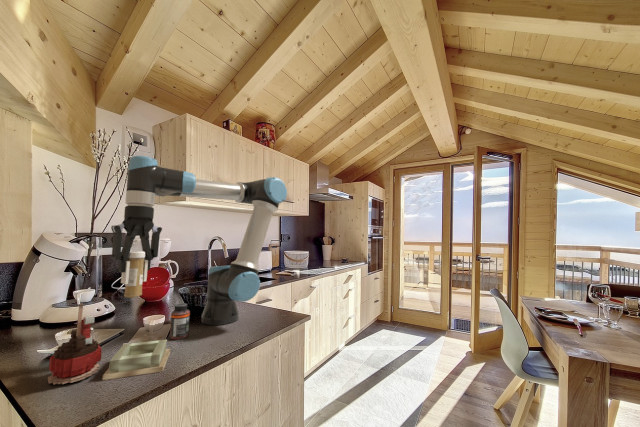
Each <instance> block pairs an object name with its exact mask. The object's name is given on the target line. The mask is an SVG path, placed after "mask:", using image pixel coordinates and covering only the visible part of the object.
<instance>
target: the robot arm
mask: <svg viewBox="0 0 640 427" xmlns="http://www.w3.org/2000/svg"><path fill="white" fill-rule="evenodd" d="M126 178H127V180H126V192H125V204H126V205H125V206H124V216H123V221H122V222H121V223H120V224H117V225H111V227H110V228H111V231H112V248H111V259H112V260H117V261H118V262H119V264H118V272H119V273H121V278H120V284H123V285H125V284H128V281H129V268H130V261H127V259H128V256H129V253H130V252H131V250H132V246H133V243H134V240H135V239H136V238H137V236H138V237H139V239H140V244H141V248H142V250H141V251H144V252H145V257H144V265H143V282H147V278H148V271H150V270H151V264H152V263H151V262H152V260H154V259H155V258H157V257H159V249H160V248H159V246H160V235H161V233H162V231H163V228H162V227H161V226H156V225H155V224H154V217H155V216H154V214H155V208H154V207H153V206H155V202H156V196H157V197H166V196H167V197H184V198H198V199H212V200H214V199H215V200H227V201H229V200H230V201H235V202H236V203H238V204H239V203H240V204H248V205H252V206H253V209H252V212H251V215H250V218H249V221H248V224H247V226H246V230H245V233H244V235H243V239H242V241H241V245H240V247H239V251H238V253H237V256H236V258H235V260H234V261H231V263H230V265H218V266H217V265H216V266H211V267H210V268H209V269H208V272H207V289H206V290H207V292H206V293H207V294H206V304H205V306H204V309H203V311H202V313H201V319H200V320H201V323H202V324H204V325H210V326H220V325H228V324H231V323H234V322H236V321H238V320H239V316H240V312H239V308H238V305H237V302H241V303H244V302H248V301H250V300H251V299H253V298H255V296H257V294H258V292H259V291H260V287H261V280H260V277H259V275H258V274H259V271H260V269H259V266H258V262H259V258H260V255H261V253H262V249H263V246H264V243H265V239H266V236H267V233H268V230H269V227H270V223H271V220H272V217H273V214H274V213H276V212H277V211H278V208H279V206H280V204H281V203H284V202H285V200H286V199H287V196H288V189H287V186H286V184H285V182H284V181H283V180H282V179H281V178H279V177H276V176H274V177H273V176H272V177H270V176H269V177H266V178H264V179H258V180H253V181H247V182H241V181H239V182H236V183H230V182H223V181H215V180H205V179H204V180H203V179H197V178H196V175H195V174H194V173H192V172H188V171H185V170H178V169H173V168H168V167H167V168H166V167H162V166H159V164H158V160H157V159H156V158H153V157H150V156H145V155H134V156H131V157H130V159H129V163H128V168H127V177H126ZM124 230H125V232H126V233H125V239H124V242H123V245H122V241H123V240H122V239H123V238H122V237H123V231H124ZM150 232H151V240H150Z"/></svg>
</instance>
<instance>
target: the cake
mask: <svg viewBox="0 0 640 427" xmlns="http://www.w3.org/2000/svg"><path fill="white" fill-rule="evenodd" d="M83 310H84V303H79V304H78V316H77V325H76V328H74V329H71V331H70V338H69V339H68V341H66V342H62V344H61V345H60V346H58V347H57V349H55V350H54V353H53V355H52V356H49V362H48V363H49V364H48V369H49V372H50V373H51V372H52V373H51V374H50V375H49V376H47V381H48V384H53V385H64V384H67V383H70V384H71V383H74V382H76V383H77V382H78V381H81V380H85V379H86V378H89V377H91V376H93V375H94V374H96V373H98V370H100V364H98V362H101V360H102V353H103V352H102V347H101V346H100V343H99V342H98V341H97V340H95V339H94V338H93V336H92V334H91V333H92V332H91V330H92V329H91V326H92V324H94V323H95V315H90V316H85V317H84V318H83Z"/></svg>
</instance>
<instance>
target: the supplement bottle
mask: <svg viewBox="0 0 640 427" xmlns="http://www.w3.org/2000/svg"><path fill="white" fill-rule="evenodd" d="M190 315H191V311H190V310H189V309H188V303H184V302H180V303H177V304H174V309H173V311H171V314H170V328H169V329H170V330H169V331H170V332H169V338H170V339H171V340H173V341H174V340H176V341H177V340H178V341H179V340H183V339H185V338H187V337H188V336H189V333H190V318H191V317H190Z"/></svg>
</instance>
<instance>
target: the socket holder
mask: <svg viewBox="0 0 640 427" xmlns="http://www.w3.org/2000/svg"><path fill="white" fill-rule="evenodd" d="M167 343H168V339H160V340H151V341H150V340H149V341H142V342H133V343H124V344H123V345H122V346H121V347H120V348H119V350H118V351H116V353H115V354H114V355H113V357H112V358H111V359H110V360H109V366H108V369H107V370H105V372H104V373H103V374H102V381H107V380H113V379H114V380H115V379H121V378H127V377H128V378H129V377H133V376H134V377H135V376H140V375H147V374H153V373H161V372H163V371H164V369H165V366H166V364H167V361H168V358H169V356H170V354H171V348H167V346H168V344H167Z"/></svg>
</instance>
